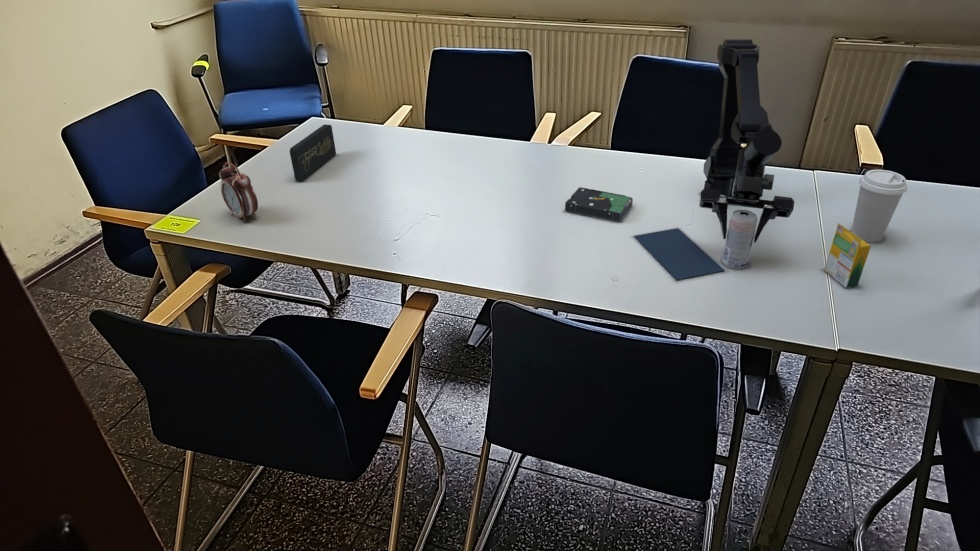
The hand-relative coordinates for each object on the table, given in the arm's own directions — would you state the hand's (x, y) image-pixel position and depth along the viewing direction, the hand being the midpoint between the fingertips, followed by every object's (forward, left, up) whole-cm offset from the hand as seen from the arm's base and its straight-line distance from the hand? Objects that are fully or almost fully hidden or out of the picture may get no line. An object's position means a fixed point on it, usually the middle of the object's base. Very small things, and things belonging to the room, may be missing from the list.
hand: (739, 240), depth 140 cm
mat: (+9, -9, -7) cm, 14 cm away
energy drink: (-1, -1, -7) cm, 7 cm away
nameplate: (+85, -87, -7) cm, 122 cm away
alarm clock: (+105, -61, -7) cm, 121 cm away
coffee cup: (-36, -2, -7) cm, 37 cm away
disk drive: (+17, -35, -7) cm, 39 cm away
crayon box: (-18, +11, -7) cm, 22 cm away
